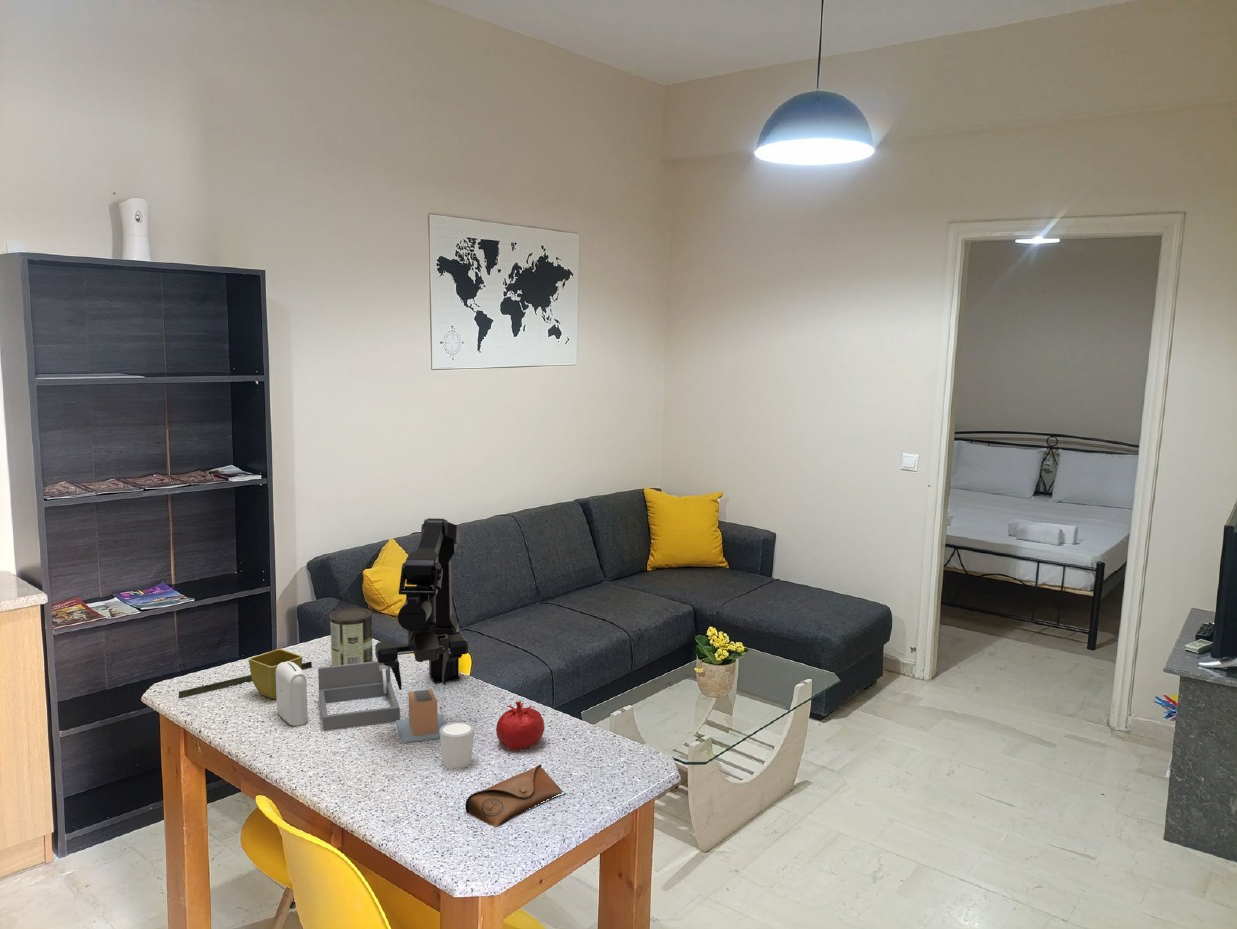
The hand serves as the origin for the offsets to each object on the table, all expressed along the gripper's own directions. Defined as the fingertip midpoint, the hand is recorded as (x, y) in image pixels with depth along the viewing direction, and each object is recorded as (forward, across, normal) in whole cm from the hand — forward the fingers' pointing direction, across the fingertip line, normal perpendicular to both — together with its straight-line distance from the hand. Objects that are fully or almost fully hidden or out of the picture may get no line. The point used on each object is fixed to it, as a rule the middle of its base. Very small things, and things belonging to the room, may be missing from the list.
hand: (422, 686), depth 188 cm
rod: (+10, -35, +40) cm, 54 cm away
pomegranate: (+10, +18, -13) cm, 24 cm away
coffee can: (+10, -11, +42) cm, 45 cm away
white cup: (+10, +4, -17) cm, 20 cm away
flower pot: (+10, -29, +30) cm, 43 cm away
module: (+9, 0, 0) cm, 9 cm away
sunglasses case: (+10, +11, -36) cm, 39 cm away
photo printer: (+10, -26, +15) cm, 32 cm away
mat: (+10, 0, 0) cm, 10 cm away
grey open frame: (+10, -12, +14) cm, 21 cm away
